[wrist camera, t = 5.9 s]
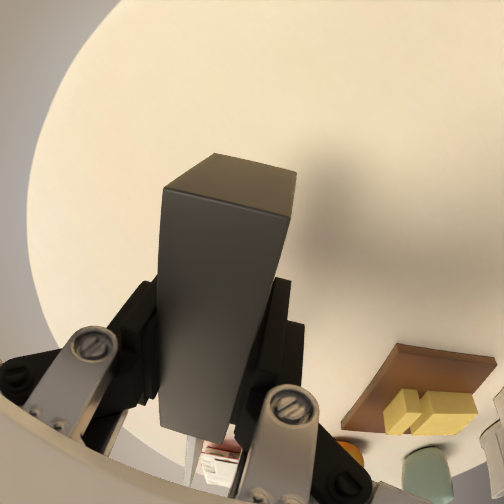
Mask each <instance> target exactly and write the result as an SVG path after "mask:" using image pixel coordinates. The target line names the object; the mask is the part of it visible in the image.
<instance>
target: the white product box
mask: <svg viewBox="0 0 504 504" xmlns="http://www.w3.org/2000/svg"><path fill="white" fill-rule="evenodd" d="M493 401H494V403H495V406H496V409H497V412H498V415H499V418H500V420H501V423H502V427H503V430H504V388H503V389H502V391H501V392H500V393H499V394H498V395H497V396H496V397H495V399H494V400H493Z"/></svg>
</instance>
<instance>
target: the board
mask: <svg viewBox="0 0 504 504" xmlns="http://www.w3.org/2000/svg"><path fill="white" fill-rule="evenodd" d="M496 366H497V363H496V361H495V358H494V357H485V356H477V355H469V354H461V353H454V352H447V351H440V350H434V349H427V348H421V347H414V346H408V345H402V344H396V345H395V347H394V348H393V350H392V351H391V353H390V355H389V356H388V358H387V359H386V361H385V362H384V364H383V365H382V367H381V368H380V370H379V371H378V373H377V374H376V376H375V377H374V378H373V380H372V381H371V383H370V384H369V386H368V387H367V388H366V390H365V391H364V392H363V394H362V395H361V397H360V398H359V399H358V401H357V402H356V403H355V405H354V406H353V407H352V408H351V410H350V411H349V412H348V414H347V415H346V416H345V417H344V419H343V420H342V421H341V430H350V431H361V432H374V433H386V431H385V423H384V416H383V411H384V410H385V408H386V407H387V406H388V405H389V404H390V403H391V401H392V400H393V399H394V398H395V397H396V395H397V394H398V393H399V392H400V390H401V389H402V388H404V389H415V390H417V391H418V395H419V399H421V398H422V397H423V395H424V394H425V393H426V392H427V391H440V392H458V393H471V394H473V393H474V392H475V391H476V390H477V389H478V388H479V387H480V385H481V384H482V383H483V382H484V381H485V380H486V378H487V377H488V376H489V375H490V373H491V372H492V371H493V370H494V369H495V367H496ZM403 434H411V429H410V427H409V428H408V429H407V430H406V431H405V432H404V433H403Z"/></svg>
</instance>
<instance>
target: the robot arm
mask: <svg viewBox="0 0 504 504" xmlns="http://www.w3.org/2000/svg"><path fill="white" fill-rule="evenodd" d="M157 275H158V274H157ZM290 289H291V281H290V280H286V279H282V278H278V277H275V279H274V281H273V284H272V287H271V291H270V294H269V297H268V301H267V304H266V308H265V311H264V314H263V318H262V321H261V324H260V328H259V331H258V334H257V338H256V341H255V344H254V346H253V347H252V350H251V353H250V356H249V360H248V363H247V366H246V369H245V373H244V376H243V379H242V382H241V385H240V389H239V392H238V395H237V398H236V401H235V404H234V407H233V411H232V414H231V418H230V422H229V423H230V424H234V425H236V426H235V430H234V434H235V436H234V438H235V440H236V441H237V442H238V444H239V445H240V446H241V448H242V449H241V452H240V456H239V459H238V463H237V466H236V470H235V473H234V477H233V480H232V483H231V487H230V490H229V493H228V497H223V496H218V495H214V494H210V493H207V492H203V491H199V490H196V489H192V488H189V487H185V486H182V485H179V484H176V483H173V482H169V481H166V480H164V479H161V478H158V477H155V476H152V475H150V474H147V473H144V472H141V471H139V470H136V469H134V468H132V467H129V466H127V465H124V464H122V463H120V462H117V461H115V460H113V459H111V458H108V457H109V455H110V452H111V450H112V448H113V445H114V443H115V441H116V438H117V436H118V434H119V431H120V429H121V427H122V425H123V422H124V420H125V418H126V416H127V413H128V409H130V408H133V407H136V406H137V404H141V405H143V406H145V405H146V403H147V401H148V399H149V398H150V399H154V398H155V397H156V395H157V393H158V390H159V388H160V386H159V320H158V319H157V276H156V277H155V278H154V279H153V281H152V282H148V281H143V282H142V283H141V284H140V285H139V286H138V288H137V289H136V290H135V291H134V293H133V294H132V295H131V296H130V298H129V299H128V300H127V302H126V303H125V304H124V305H123V307H122V308H121V309H120V311H119V312H118V313H117V315H116V316H115V317H114V319H113V320H112V321H111V322H110V324H109V325H108V326H107V328H104V327H100V326H88V327H84V328H82V329H80V330H78V331H76V332H75V333H74V334H73V335H72V336H71V338H70V339H69V340H68V342H67V343H66V344H65V346H64V347H63V348H61V349H57V350H52V351H47V352H42V353H37V354H32V355H27V356H22V357H17V358H13V359H10V360H8V361H6V362H5V363H2V361H1V360H0V504H433V503H432V502H430V501H429V500H426V499H424V498H421V497H418V496H416V495H413V494H411V493H408V492H406V491H403V490H401V489H398V488H396V487H394V486H391V485H389V484H387V483H385V482H382V481H380V482H378V483H377V482H375V481H372V480H371V477H370V475H369V474H368V472H367V471H366V470H365V469H364V468H363V467H362V466H361V465H360V464H359V463H358V462H357V461H356V460H355V459H354V458H353V457H352V456H351V455H350V454H349V453H348V452H347V451H346V450H345V449H344V448H343V447H342V446H341V445H340V444H339V443H338V442H337V441H336V440H335V439H334V438H333V437H332V436H331V435H330V434H329V433H328V432H327V431H326V430H325V429H324V428H323V427H322V425H321V424H320V423H319V405H318V403H317V401H316V399H315V397H314V396H313V395H312V394H311V393H310V392H309V391H307V390H306V389H304V388H302V387H301V380H302V366H303V350H304V333H305V326H304V324H301V323H297V322H292V321H288V320H287V316H288V307H289V298H290Z"/></svg>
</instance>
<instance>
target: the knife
mask: <svg viewBox="0 0 504 504" xmlns="http://www.w3.org/2000/svg"><path fill="white" fill-rule="evenodd" d="M296 176H297V173H296V172H294V171H291V170H287V169H283V168H279V167H275V166H271V165H266V164H262V163H258V162H254V161H249V160H245V159H240V158H236V157H231V156H227V155H222V154H217V153H214V154H212V155H211V156H209V157H208V158H206V159H205V160H203V161H202V162H200V163H199V164H197V165H196V166H194V167H193V168H191V169H190V170H188V171H187V172H185V173H184V174H182V175H181V176H179V177H178V178H176V179H175V180H174V181H172V182H171V183H169V184H168V185H166V186H165V187H164V188H163V195H162V207H161V220H160V234H159V252H158V275H157V319H158V320H159V386H160V388H159V390H158V397H159V413H160V426H162V427H164V428H167V429H170V430H173V431H176V432H179V433H182V434H186V435H187V445H186V458H185V472H184V486H185V487H189V488H190V486H191V483H192V480H193V476H194V473H195V470H196V467H197V464H198V460H199V457H200V454H201V451H202V447H203V442H204V440H206V441H209V442H213V443H217V444H220V445H222V444H223V441H224V438H225V435H226V432H227V429H228V426H229V422H230V418H231V414H232V411H233V407H234V404H235V401H236V398H237V395H238V392H239V389H240V385H241V382H242V379H243V376H244V373H245V369H246V366H247V363H248V360H249V356H250V353H251V350H252V347H253V346H254V344H255V341H256V338H257V334H258V331H259V328H260V324H261V321H262V318H263V314H264V311H265V308H266V304H267V301H268V297H269V294H270V291H271V287H272V284H273V280H274V277H275V273H276V270H277V266H278V263H279V259H280V256H281V252H282V249H283V245H284V242H285V238H286V235H287V231H288V227H289V224H290V220H291V213H292V206H293V199H294V191H295V184H296Z"/></svg>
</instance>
